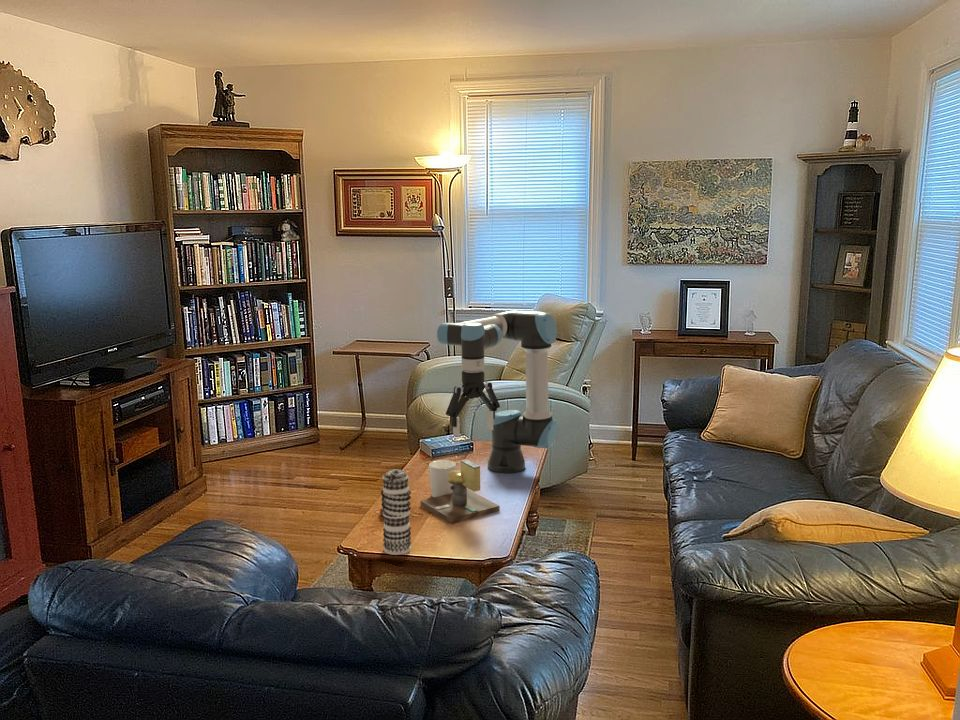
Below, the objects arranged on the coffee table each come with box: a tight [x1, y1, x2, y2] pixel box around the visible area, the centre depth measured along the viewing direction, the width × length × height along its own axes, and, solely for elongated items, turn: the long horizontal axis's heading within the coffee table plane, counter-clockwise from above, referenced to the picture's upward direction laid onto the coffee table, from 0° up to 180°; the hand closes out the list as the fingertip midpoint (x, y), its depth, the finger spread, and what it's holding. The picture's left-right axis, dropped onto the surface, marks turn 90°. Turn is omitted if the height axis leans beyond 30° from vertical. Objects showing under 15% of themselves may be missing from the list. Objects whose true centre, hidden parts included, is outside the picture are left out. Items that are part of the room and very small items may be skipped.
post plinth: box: [420, 484, 501, 525], centre depth 277 cm, size 20×20×10 cm
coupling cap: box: [448, 459, 481, 493], centre depth 271 cm, size 16×8×8 cm, turn 31°
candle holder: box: [428, 459, 457, 498], centre depth 289 cm, size 10×10×12 cm
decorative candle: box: [380, 468, 412, 556], centre depth 243 cm, size 9×9×25 cm
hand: (473, 432), depth 265 cm, fingers open, 13 cm apart
